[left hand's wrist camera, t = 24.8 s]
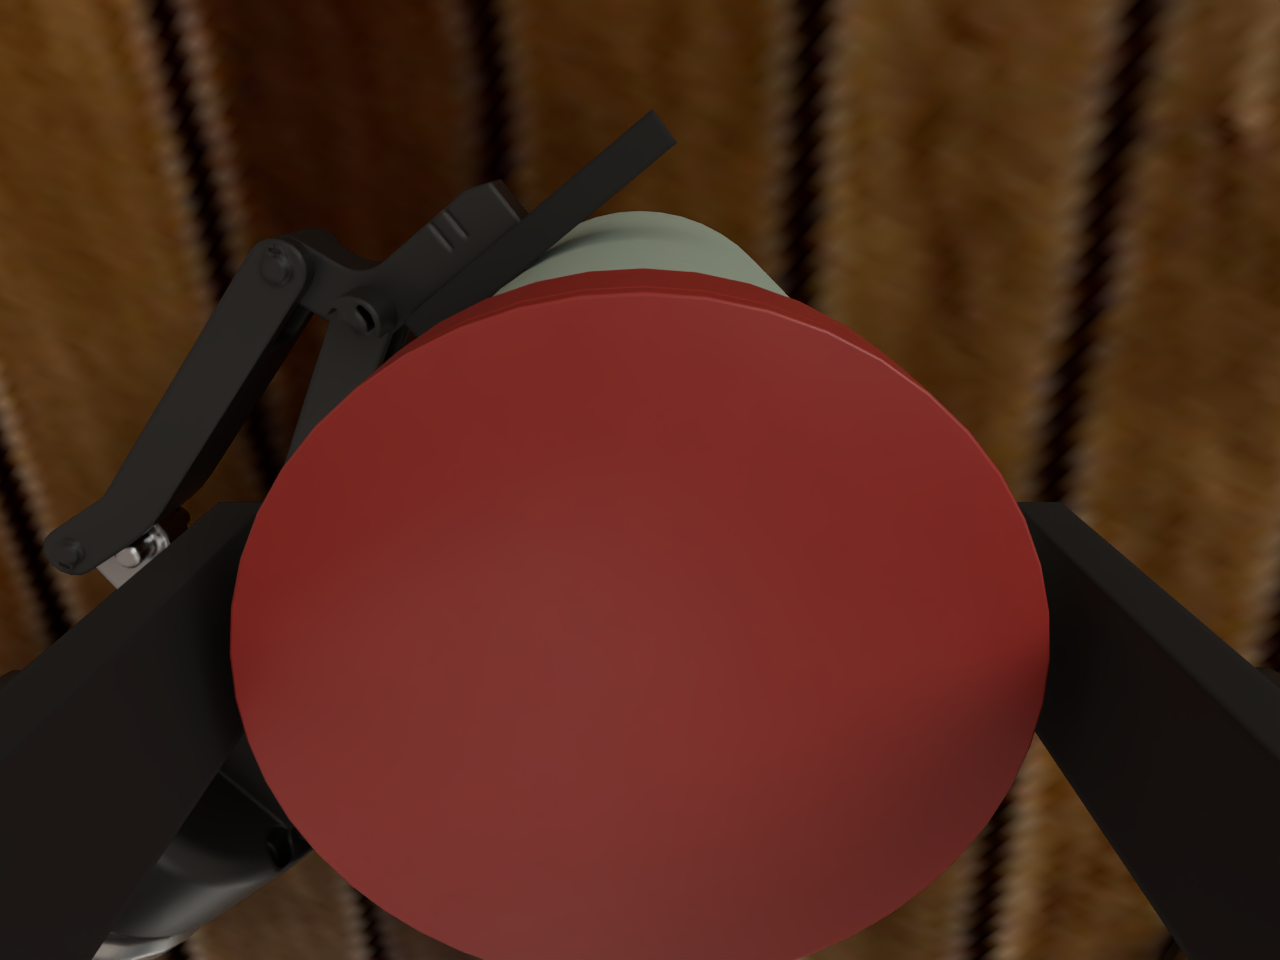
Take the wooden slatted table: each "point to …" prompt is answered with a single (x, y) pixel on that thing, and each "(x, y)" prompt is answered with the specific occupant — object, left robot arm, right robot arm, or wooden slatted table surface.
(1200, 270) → the wooden slatted table surface
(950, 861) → the lid
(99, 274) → the wooden slatted table surface
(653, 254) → the jar
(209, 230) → the wooden slatted table surface
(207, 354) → the right robot arm
